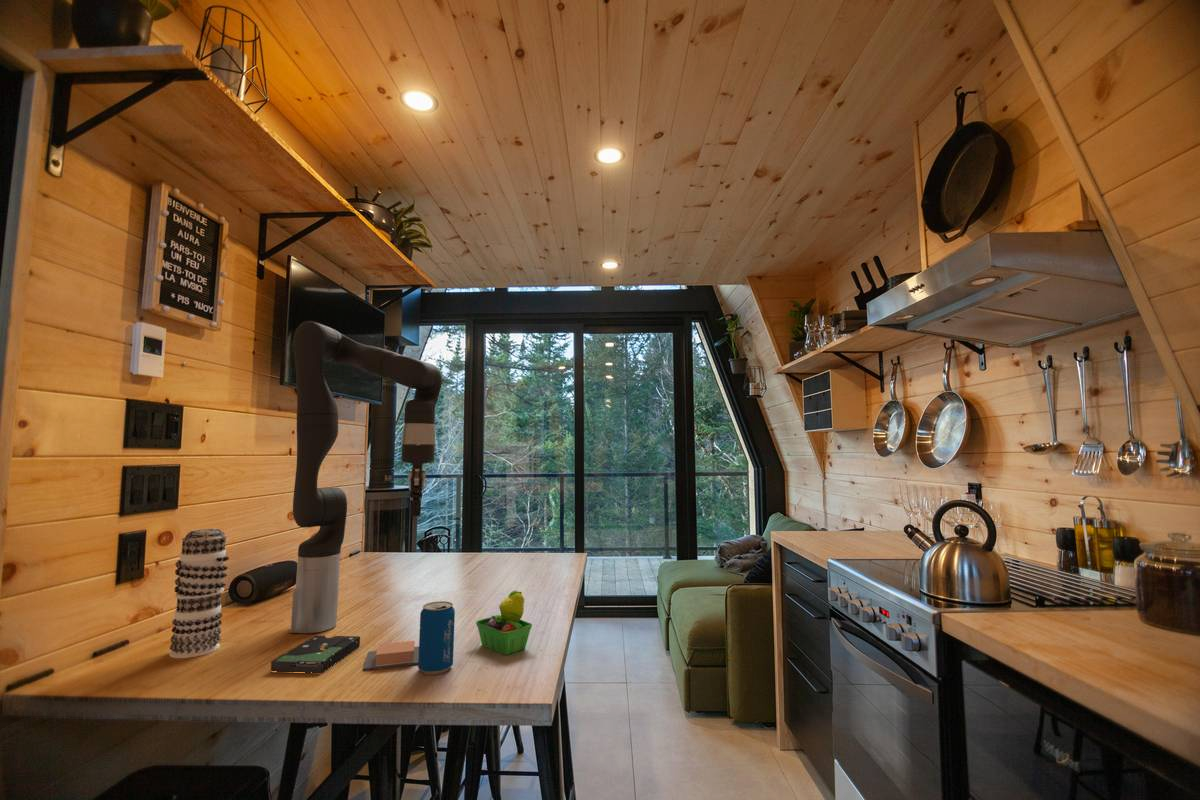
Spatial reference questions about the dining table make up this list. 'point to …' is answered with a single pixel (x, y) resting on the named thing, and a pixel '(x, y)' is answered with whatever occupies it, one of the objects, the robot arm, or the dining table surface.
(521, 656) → the dining table surface
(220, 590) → the decorative candle
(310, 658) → the disk drive
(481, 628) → the fruit basket
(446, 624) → the beverage can
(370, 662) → the mat
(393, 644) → the tile
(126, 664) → the dining table surface
